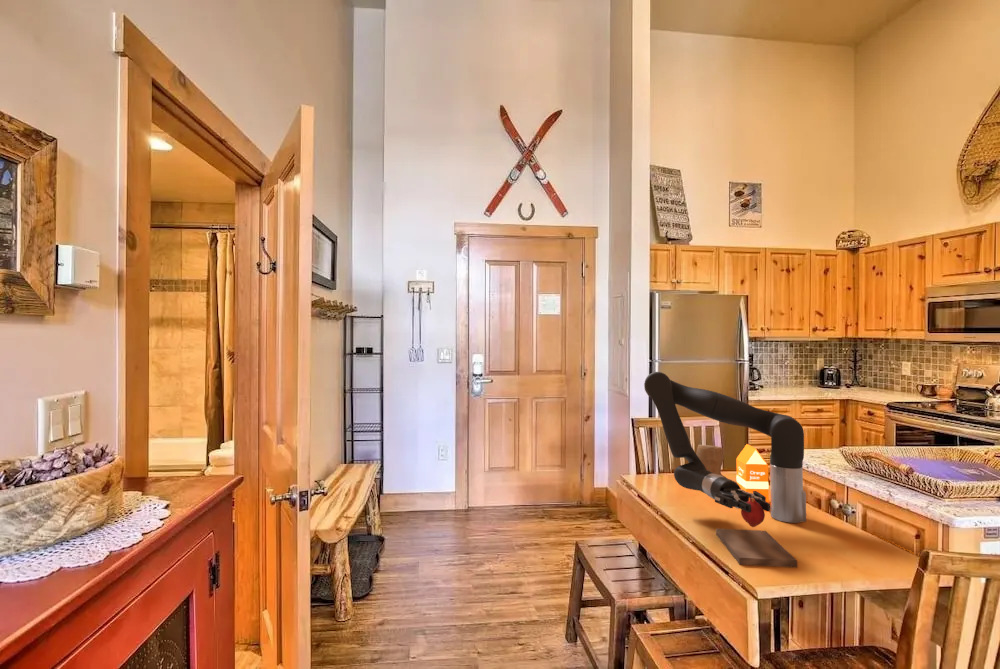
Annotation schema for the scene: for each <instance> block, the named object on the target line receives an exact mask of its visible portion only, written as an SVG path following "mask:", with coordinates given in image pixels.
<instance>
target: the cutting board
mask: <svg viewBox="0 0 1000 669" xmlns="http://www.w3.org/2000/svg"><path fill="white" fill-rule="evenodd" d="M715 536H717V538H718V539H719V540H720V542H721V543H722V544H723V545H724V547H725V548H726V549H727V550H728V551H729V553H730V555H731V556H732V557H733V558H734V560H735V559H736V560H735V561H736V562H737V564H738V565H743V566H762V567H778V568H779V567H780V568H798V560H797V559H796V558H795V557H794V556H793V555H792V554H791V553H790V552H789V551H788V550H787V549H786V548H785V547H783V546H782V544H781V543H779V542H778V540H776V539H775V538H774V537H773V536H772V535H771V534H769V532H768V531H767V530H763V529H761V530H758V529H757V530H756V529H733V528H715Z"/></svg>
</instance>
